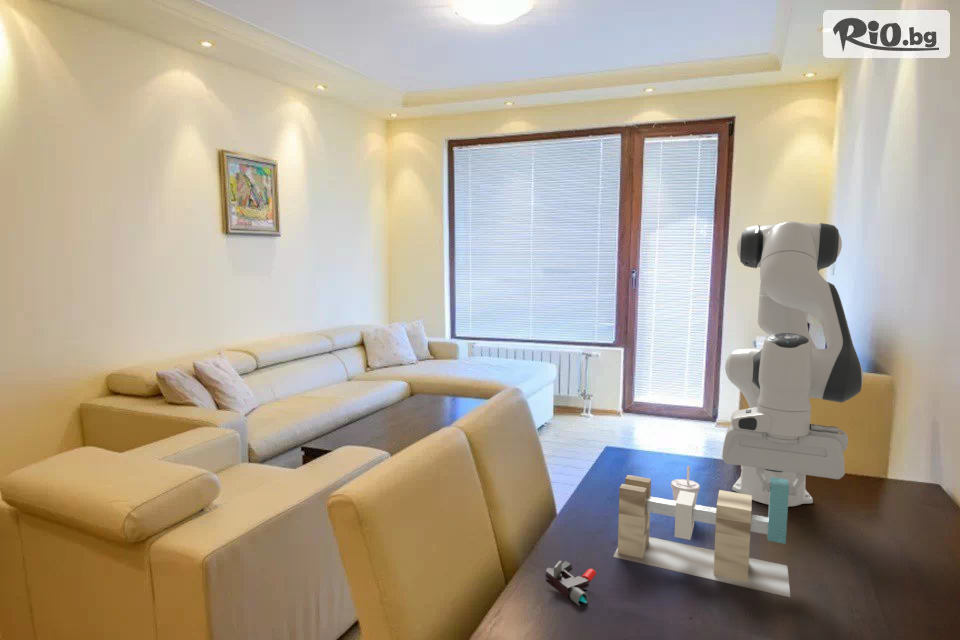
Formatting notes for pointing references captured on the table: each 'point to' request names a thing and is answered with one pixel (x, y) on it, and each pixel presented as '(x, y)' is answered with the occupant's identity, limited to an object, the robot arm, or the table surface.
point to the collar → (684, 515)
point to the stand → (712, 564)
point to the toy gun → (569, 581)
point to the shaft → (766, 525)
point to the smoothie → (684, 486)
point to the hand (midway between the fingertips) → (778, 492)
